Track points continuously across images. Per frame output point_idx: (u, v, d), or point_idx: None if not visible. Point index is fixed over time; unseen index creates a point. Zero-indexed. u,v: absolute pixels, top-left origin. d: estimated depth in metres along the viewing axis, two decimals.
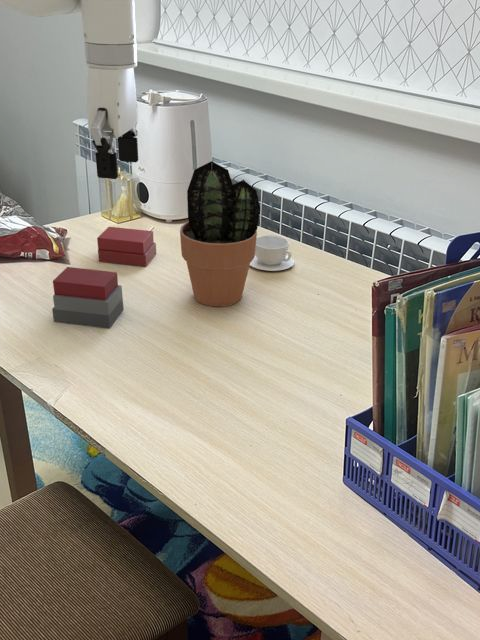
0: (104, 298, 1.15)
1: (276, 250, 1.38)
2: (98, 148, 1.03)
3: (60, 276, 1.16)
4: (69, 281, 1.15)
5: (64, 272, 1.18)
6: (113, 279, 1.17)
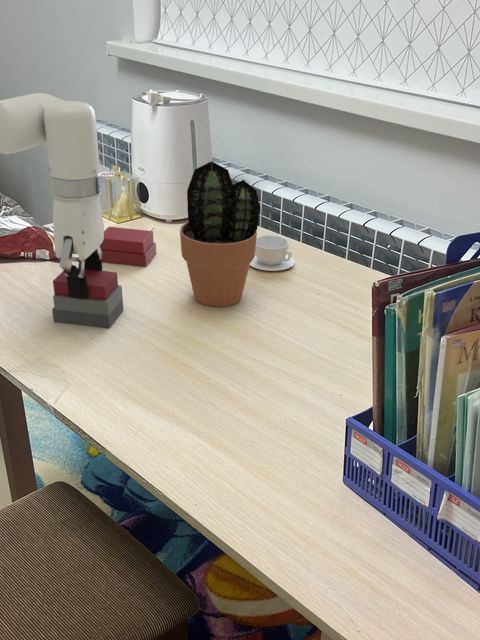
0: (104, 298, 1.15)
1: (276, 250, 1.38)
2: (68, 274, 1.11)
3: (60, 276, 1.16)
4: None
5: (64, 272, 1.18)
6: (113, 279, 1.17)
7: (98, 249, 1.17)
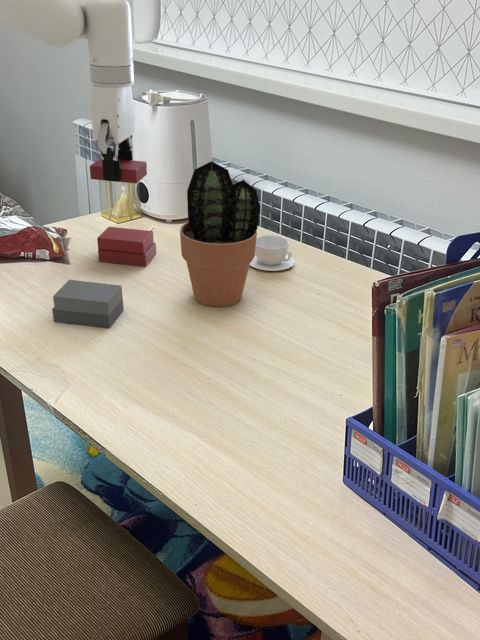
0: (135, 181, 1.28)
1: (276, 250, 1.38)
2: (104, 156, 1.24)
3: (96, 163, 1.30)
4: None
5: (99, 161, 1.31)
6: (143, 167, 1.31)
7: (129, 140, 1.31)
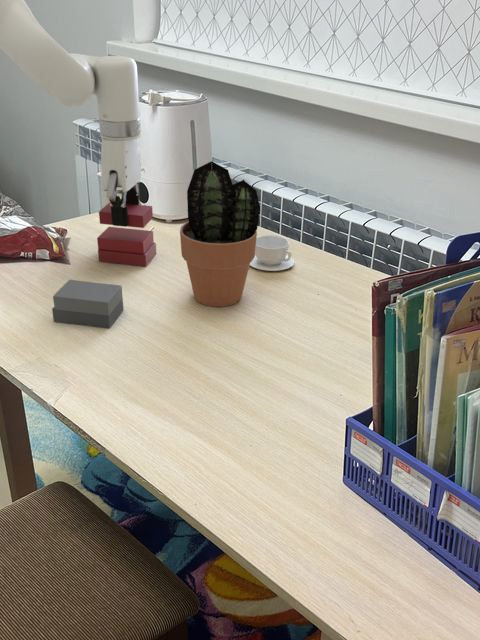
0: (142, 226, 1.36)
1: (276, 250, 1.38)
2: (113, 204, 1.32)
3: (104, 208, 1.37)
4: None
5: (107, 206, 1.39)
6: (149, 211, 1.38)
7: (136, 186, 1.38)
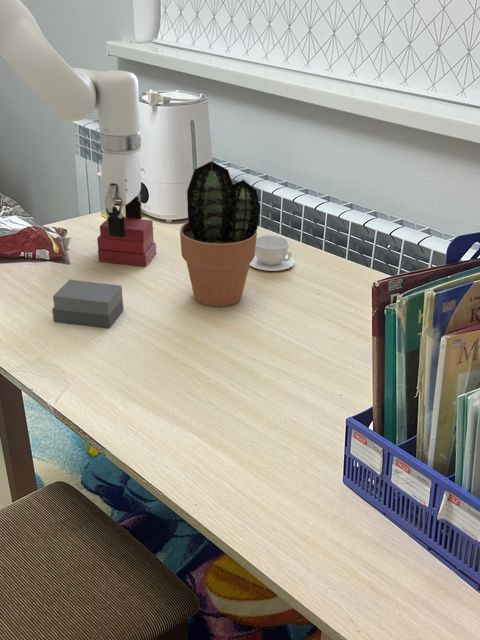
0: (143, 240, 1.37)
1: (276, 250, 1.38)
2: (110, 214, 1.31)
3: (105, 222, 1.39)
4: None
5: None
6: (150, 226, 1.40)
7: (137, 194, 1.40)
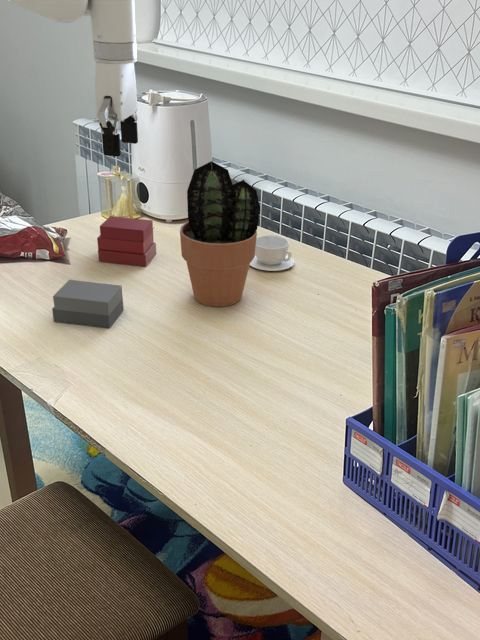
0: (143, 240, 1.37)
1: (276, 250, 1.38)
2: (104, 130, 1.23)
3: (105, 222, 1.39)
4: (113, 226, 1.37)
5: (108, 220, 1.40)
6: (150, 226, 1.40)
7: (133, 113, 1.32)
